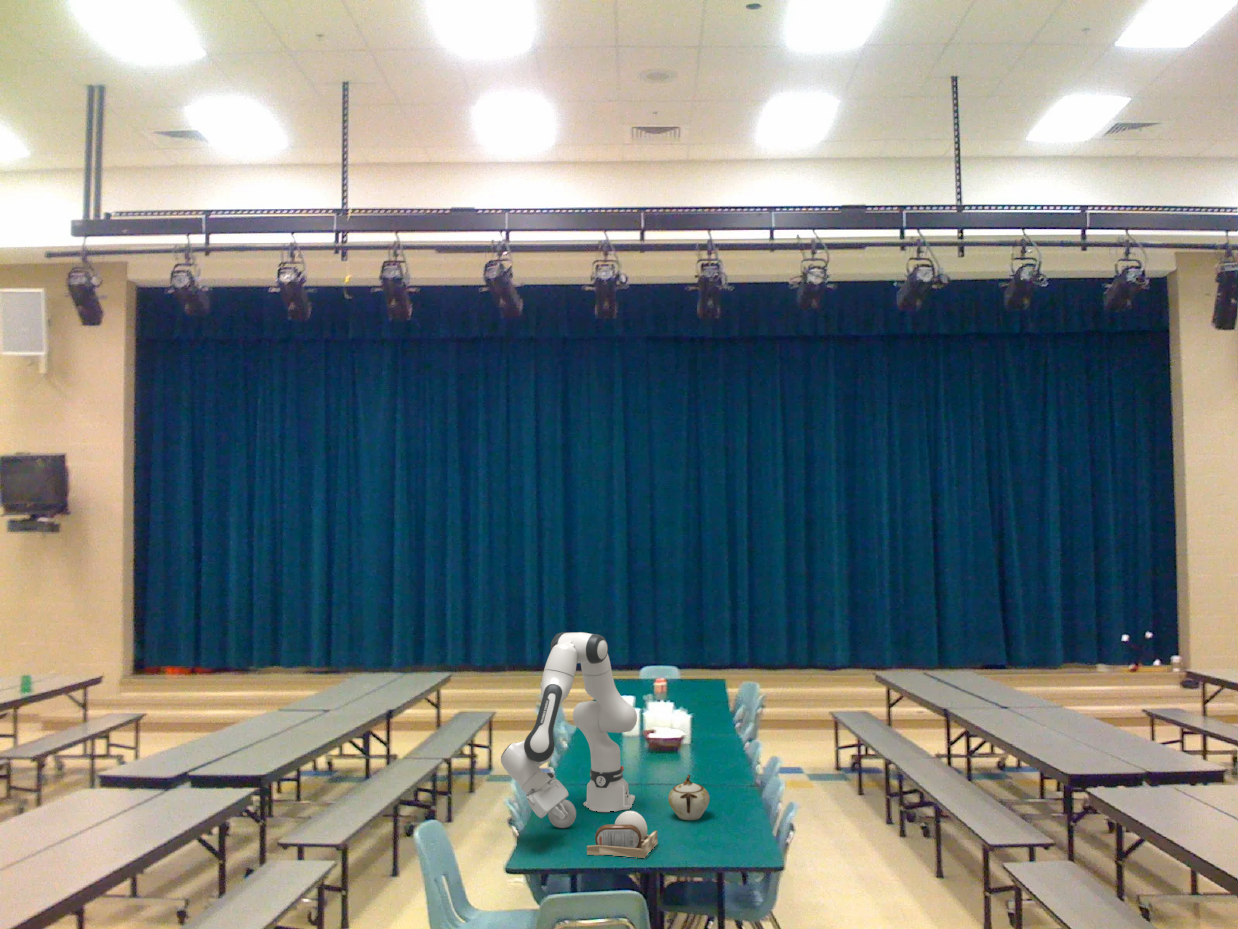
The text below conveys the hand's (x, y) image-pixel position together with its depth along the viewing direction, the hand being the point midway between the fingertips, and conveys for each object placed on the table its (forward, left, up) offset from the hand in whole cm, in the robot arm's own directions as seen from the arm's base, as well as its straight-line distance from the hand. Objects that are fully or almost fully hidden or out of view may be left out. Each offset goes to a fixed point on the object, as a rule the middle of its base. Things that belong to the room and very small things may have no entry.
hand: (565, 817), depth 316 cm
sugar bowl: (-40, +32, -9) cm, 52 cm away
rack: (0, +20, -9) cm, 22 cm away
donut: (-17, -8, -9) cm, 21 cm away
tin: (+1, +19, -9) cm, 21 cm away
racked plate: (-5, +21, -9) cm, 24 cm away
